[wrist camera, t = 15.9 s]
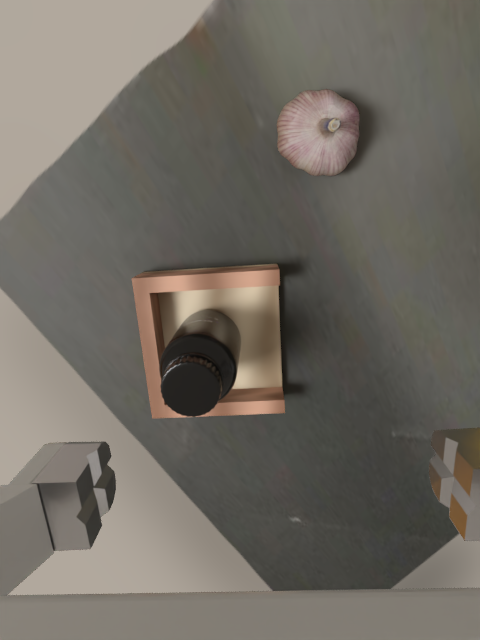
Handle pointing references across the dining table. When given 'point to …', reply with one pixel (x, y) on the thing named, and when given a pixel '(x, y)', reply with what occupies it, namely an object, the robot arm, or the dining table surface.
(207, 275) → the open-sided tray
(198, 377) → the supplement bottle
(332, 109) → the garlic bulb
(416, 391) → the dining table surface
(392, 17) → the dining table surface
